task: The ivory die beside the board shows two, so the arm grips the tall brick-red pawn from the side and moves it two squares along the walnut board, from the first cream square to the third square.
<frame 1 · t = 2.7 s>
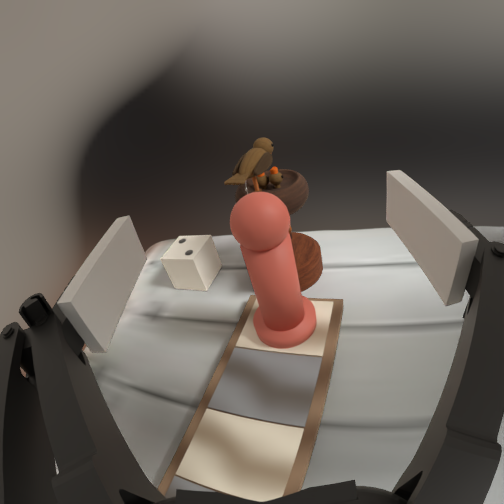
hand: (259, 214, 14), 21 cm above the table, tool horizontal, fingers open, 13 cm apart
board: (256, 424, 25), on the table
die: (198, 277, 48), on the table
pawn: (286, 324, 33), point 2 cm above the table, touching board
music box: (288, 268, 44), on the table
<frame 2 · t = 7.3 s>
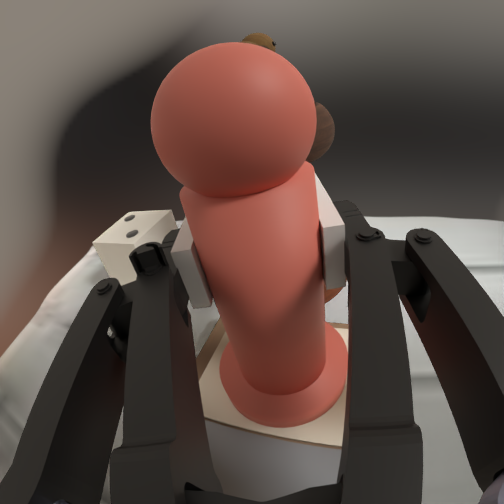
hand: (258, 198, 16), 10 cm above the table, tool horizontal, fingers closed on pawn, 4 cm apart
die: (152, 275, 30), on the table
pawn: (285, 373, 16), point 2 cm above the table, touching board, gripper
music box: (290, 268, 27), on the table
when the fingers open (11 cm above the table, at t = 12.0 s): pawn drops 1 cm, resting on board.
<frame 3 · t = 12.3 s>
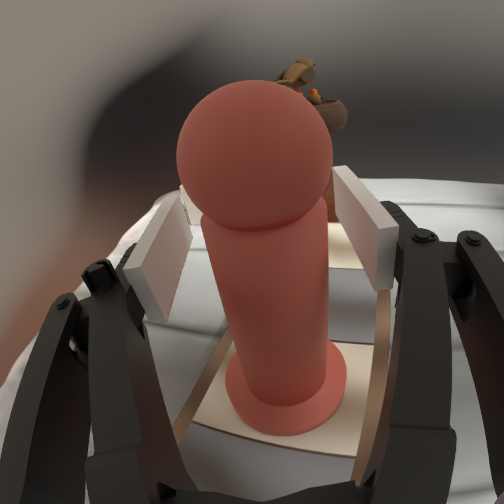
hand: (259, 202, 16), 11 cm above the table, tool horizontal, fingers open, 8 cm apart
board: (304, 351, 21), on the table
die: (218, 214, 43), on the table
pawn: (287, 385, 17), point 2 cm above the table, touching board
music box: (319, 205, 40), on the table
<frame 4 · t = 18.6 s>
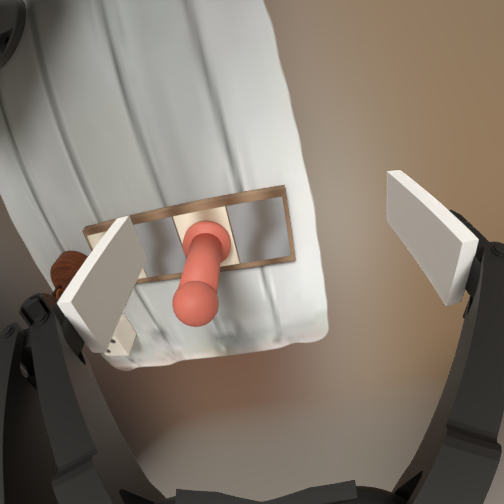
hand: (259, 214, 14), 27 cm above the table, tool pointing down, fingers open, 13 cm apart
board: (184, 239, 46), on the table
die: (118, 324, 57), on the table
pawn: (207, 241, 44), point 2 cm above the table, touching board
music box: (77, 273, 50), on the table
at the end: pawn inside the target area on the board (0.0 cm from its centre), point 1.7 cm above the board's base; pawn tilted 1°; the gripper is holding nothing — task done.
